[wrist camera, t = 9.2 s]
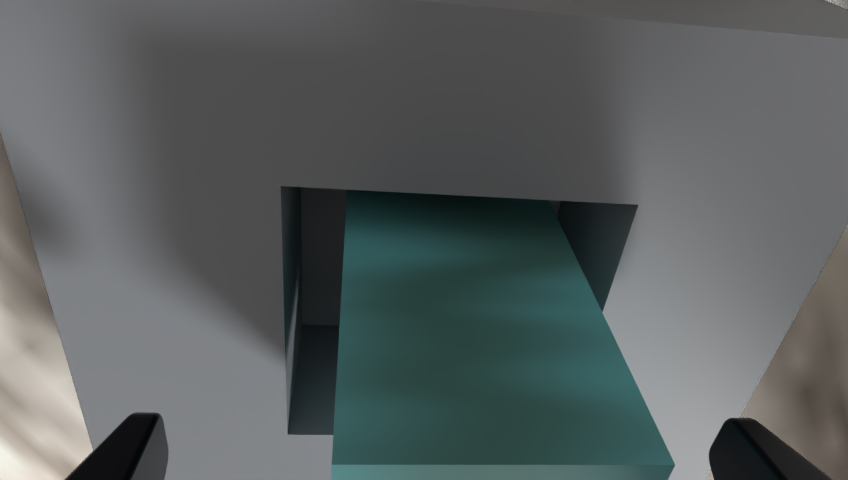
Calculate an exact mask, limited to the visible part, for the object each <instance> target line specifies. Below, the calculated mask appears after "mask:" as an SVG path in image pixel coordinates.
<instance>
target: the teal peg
mask: <svg viewBox="0 0 848 480" xmlns="http://www.w3.org/2000/svg"><path fill="white" fill-rule="evenodd" d="M674 467H675V463H674V461H673V459H672V457H671V455H670V453H669V451H668V449H667V447H666V444H665V442H664V440H663V438H662V436H661V434H660V432H659V430H658V428H657V426H656V424H655V421H654V419H653V417H652V415H651V413H650V411H649V409H648V407H647V405H646V403H645V401H644V398H643V396H642V394H641V392H640V390H639V388H638V386H637V384H636V382H635V380H634V378H633V375H632V373H631V371H630V369H629V367H628V365H627V363H626V361H625V359H624V357H623V355H622V352H621V350H620V348H619V346H618V344H617V342H616V340H615V338H614V336H613V334H612V332H611V330H610V327H609V325H608V323H607V321H606V319H605V317H604V315H603V313H602V311H601V309H600V307H599V304H598V302H597V300H596V298H595V296H594V294H593V292H592V290H591V288H590V286H589V284H588V281H587V279H586V277H585V275H584V273H583V271H582V269H581V267H580V265H579V263H578V261H577V258H576V256H575V254H574V252H573V250H572V248H571V246H570V244H569V242H568V240H567V238H566V236H565V233H564V231H563V229H562V227H561V225H560V223H559V221H558V219H557V217H556V215H555V213H554V210H553V208H552V206H551V204H550V202H549V200H537V199H518V198H499V197H480V196H461V195H441V194H422V193H403V192H384V191H365V190H347V202H346V220H345V238H344V255H343V273H342V290H341V308H340V326H339V343H338V361H337V378H336V396H335V414H334V431H333V449H332V468H331V480H668V478H669V476H670V475H671V473H672V471H673V469H674Z"/></svg>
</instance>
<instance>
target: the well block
mask: <svg viewBox="0 0 848 480" xmlns="http://www.w3.org/2000/svg"><path fill="white" fill-rule="evenodd" d="M0 133H1V136H2V139H3V143H4V146H5V150H6V153H7V157H8V160H9V163H10V167H11V170H12V174H13V177H14V181H15V184H16V187H17V191H18V194H19V198H20V201H21V205H22V208H23V211H24V215H25V218H26V222H27V225H28V229H29V232H30V235H31V239H32V242H33V246H34V249H35V252H36V256H37V259H38V263H39V266H40V270H41V273H42V276H43V280H44V283H45V287H46V290H47V294H48V297H49V300H50V304H51V307H52V311H53V314H54V318H55V321H56V324H57V328H58V331H59V335H60V338H61V342H62V345H63V348H64V352H65V355H66V359H67V362H68V366H69V369H70V372H71V376H72V379H73V383H74V386H75V390H76V393H77V396H78V400H79V403H80V407H81V410H82V413H83V417H84V420H85V424H86V427H87V431H88V434H89V437H90V441H91V444H92V448H93V451H94V450H95V449H96V448H97V447H98V446H99V445H100V444H101V443H102V442H103V441H104V440H105V439H106V438H107V437H108V436H109V435H110V434H111V433H112V432H113V431H114V430H115V429H116V428H117V427H118V426H119V425H120V424H121V423H122V422H123V421H124V419H125V418H127V417H128V416H129V415H130V414H132V413H136V412H156V413H159V414H161V416H162V418H163V422H164V427H165V432H166V438H167V443H168V449H169V455H168V464H167V469H166V474H165V479H164V480H331V468H332V449H333V431H334V414H335V396H336V378H337V361H338V343H339V326H340V308H341V290H342V273H343V255H344V238H345V220H346V202H347V190H365V191H384V192H403V193H422V194H441V195H461V196H480V197H499V198H518V199H537V200H549V202H550V204H551V206H552V208H553V210H554V213H555V215H556V217H557V219H558V221H559V223H560V225H561V227H562V229H563V231H564V233H565V236H566V238H567V240H568V242H569V244H570V246H571V248H572V250H573V252H574V254H575V256H576V258H577V261H578V263H579V265H580V267H581V269H582V271H583V273H584V275H585V277H586V279H587V281H588V284H589V286H590V288H591V290H592V292H593V294H594V296H595V298H596V300H597V302H598V304H599V307H600V309H601V311H602V313H603V315H604V317H605V319H606V321H607V323H608V325H609V327H610V330H611V332H612V334H613V336H614V338H615V340H616V342H617V344H618V346H619V348H620V350H621V352H622V355H623V357H624V359H625V361H626V363H627V365H628V367H629V369H630V371H631V373H632V375H633V378H634V380H635V382H636V384H637V386H638V388H639V390H640V392H641V394H642V396H643V398H644V401H645V403H646V405H647V407H648V409H649V411H650V413H651V415H652V417H653V419H654V421H655V424H656V426H657V428H658V430H659V432H660V434H661V436H662V438H663V440H664V442H665V444H666V447H667V449H668V451H669V453H670V455H671V457H672V459H673V461H674V463H675V467H674V469H673V471H672V473H671V475H670V476H669V478H668V480H705V478H706V477H707V475H708V473H709V471H710V469H711V467H710V463H709V450H710V447H711V445H712V443H713V441H714V440H715V438H716V436H717V434H718V432H719V430H720V429H721V427H722V425H723V423H724V422H725V421H726V420H727V419H729V418H740V416H741V414H742V412H743V410H744V409H745V407H746V405H747V403H748V401H749V400H750V398H751V396H752V394H753V392H754V391H755V389H756V387H757V385H758V383H759V382H760V380H761V378H762V376H763V375H764V373H765V371H766V369H767V367H768V366H769V364H770V362H771V360H772V358H773V357H774V355H775V353H776V351H777V349H778V348H779V346H780V344H781V342H782V341H783V339H784V337H785V335H786V333H787V332H788V330H789V328H790V326H791V324H792V323H793V321H794V319H795V317H796V315H797V314H798V312H799V310H800V308H801V307H802V305H803V303H804V301H805V299H806V298H807V296H808V294H809V292H810V290H811V289H812V287H813V285H814V283H815V281H816V280H817V278H818V276H819V274H820V272H821V271H822V269H823V267H824V265H825V264H826V262H827V260H828V258H829V256H830V255H831V253H832V251H833V249H834V247H835V246H836V244H837V242H838V240H839V238H840V237H841V235H842V233H843V231H844V230H845V228H846V226H847V224H848V9H845V8H843V7H840V6H837V5H835V4H832V3H830V2H827V1H825V0H0Z"/></svg>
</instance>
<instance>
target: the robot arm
mask: <svg viewBox="0 0 848 480" xmlns="http://www.w3.org/2000/svg"><path fill="white" fill-rule="evenodd" d="M168 455H169V449H168V443H167V438H166V432H165V427H164V422H163V418H162V416H161V414H159V413H156V412H136V413H132V414H130V415H129V416H128V417H127V418H125V419H124V421H123V422H122V423H121V424H120V425H119V426H118V427H117V428H116V429H115V430H114V431H113V432H112V433H111V434H110V435H109V436H108V437H107V438H106V439H105V440H104V441H103V442H102V443H101V444H100V445H99V446H98V447H97V448H96V449H95V450H94V451H93V452H92V453H91V454H90V455H89V456H88V457H87V458H86V459H85V460H84V461H83V462H82V463H81V464H80V465H79V466H78V467H77V468H76V469H75V470H74V471H73V472H72V473H71V474H70V475H69V476H68V477H67V478H66V479H65V480H164V479H165V474H166V469H167V464H168ZM709 463H710V467H711V470H712V474H713V477H714V480H832V479H831V478H830V477H828V476H827V475H826V474H824V473H823V472H822V471H821V470H819V469H818V468H817V467H815V466H814V465H813V464H812V463H810V462H809V461H808V460H806V459H805V458H804V457H803V456H801V455H800V454H799V453H797V452H796V451H795V450H794V449H792V448H791V447H790V446H788V445H787V444H786V443H785V442H783V441H782V440H781V439H779V438H778V437H777V436H776V435H774V434H773V433H772V432H770V431H769V430H768V429H767V428H765V427H764V426H763V425H761V424H760V423H759V422H757V421H756V420H754V419H751V418H729V419H727V420H726V421H725V422H724V423H723V425H722V427H721V429H720V430H719V432H718V434H717V436H716V438H715V440H714V441H713V443H712V445H711V447H710V450H709Z"/></svg>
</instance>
